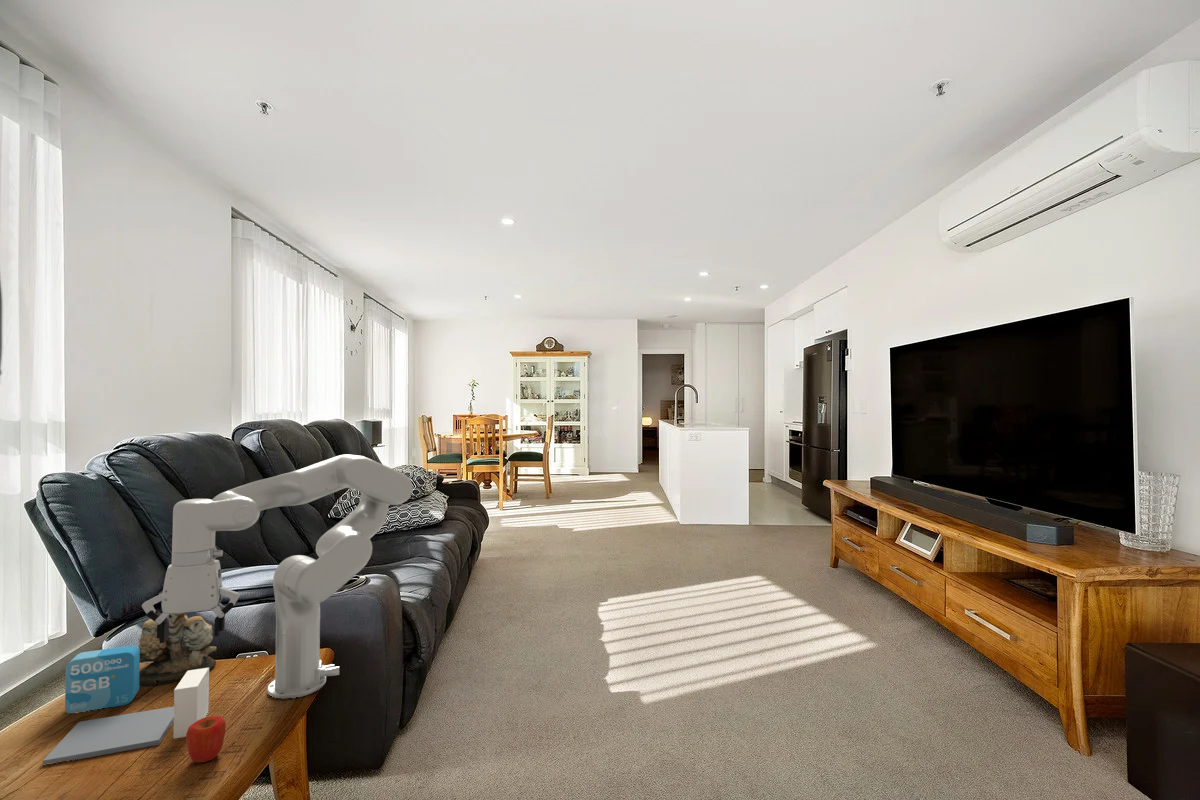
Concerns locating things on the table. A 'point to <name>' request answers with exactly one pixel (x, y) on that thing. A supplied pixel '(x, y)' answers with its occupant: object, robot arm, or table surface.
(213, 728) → the apple
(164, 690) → the table surface
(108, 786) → the table surface
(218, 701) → the table surface
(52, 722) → the table surface
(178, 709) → the slab
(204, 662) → the owl figurine
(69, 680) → the data package
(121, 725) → the board
